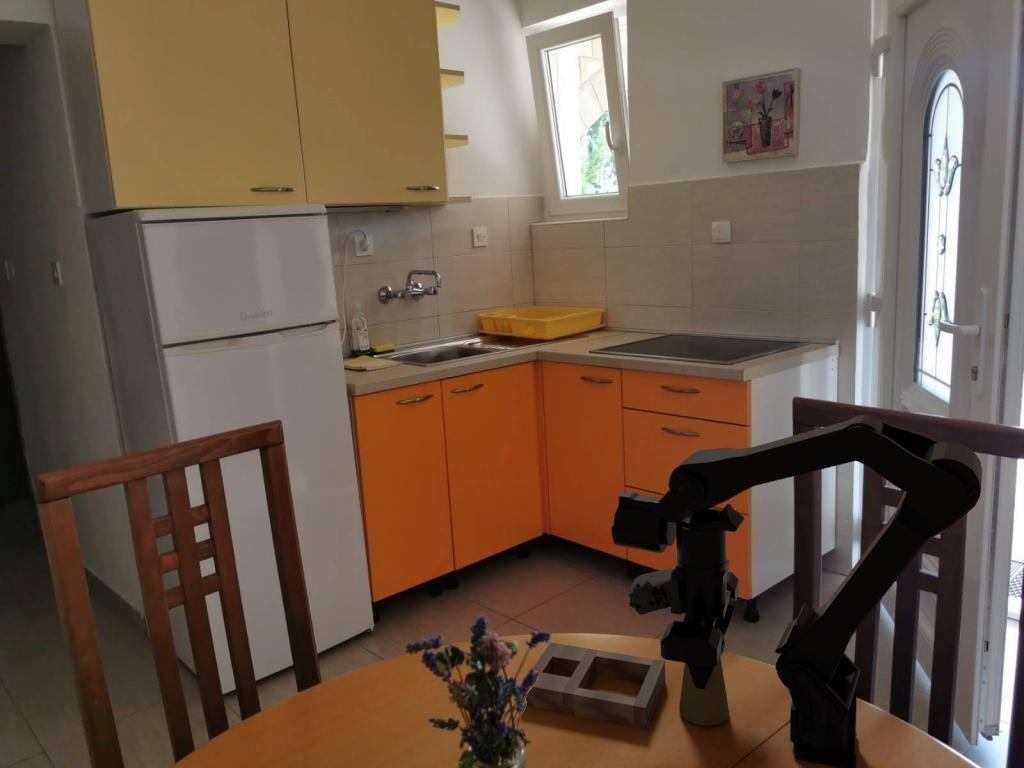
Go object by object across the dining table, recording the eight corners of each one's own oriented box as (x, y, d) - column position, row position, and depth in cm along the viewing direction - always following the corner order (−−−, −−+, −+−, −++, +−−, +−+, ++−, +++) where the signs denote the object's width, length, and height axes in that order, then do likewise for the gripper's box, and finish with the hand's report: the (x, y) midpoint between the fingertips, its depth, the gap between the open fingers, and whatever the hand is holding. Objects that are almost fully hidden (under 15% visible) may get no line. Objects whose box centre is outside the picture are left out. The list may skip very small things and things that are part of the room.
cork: (717, 731, 93) (716, 647, 91) (670, 715, 97) (668, 633, 94) (737, 705, 98) (736, 624, 95) (691, 690, 101) (689, 611, 99)
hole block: (665, 681, 104) (664, 661, 104) (646, 730, 95) (645, 707, 94) (551, 661, 111) (550, 642, 110) (523, 705, 101) (521, 684, 101)
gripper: (652, 522, 105) (655, 629, 108) (613, 584, 88) (618, 709, 91) (738, 530, 100) (739, 642, 103) (715, 597, 83) (717, 728, 87)
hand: (703, 677), depth 96 cm, fingers closed on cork, 4 cm apart
